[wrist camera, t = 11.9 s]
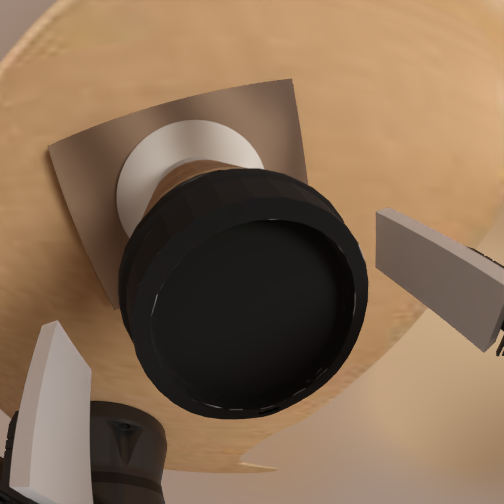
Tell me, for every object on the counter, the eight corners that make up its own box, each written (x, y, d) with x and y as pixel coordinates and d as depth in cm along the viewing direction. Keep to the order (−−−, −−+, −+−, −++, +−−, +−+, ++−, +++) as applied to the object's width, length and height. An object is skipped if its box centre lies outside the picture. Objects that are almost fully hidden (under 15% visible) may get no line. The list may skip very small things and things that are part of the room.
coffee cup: (148, 262, 22) (159, 443, 9) (127, 148, 18) (65, 222, 5) (255, 242, 24) (365, 384, 11) (249, 132, 20) (406, 175, 7)
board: (115, 299, 25) (114, 312, 23) (53, 143, 18) (46, 146, 16) (306, 236, 28) (316, 245, 26) (283, 80, 21) (294, 78, 20)
